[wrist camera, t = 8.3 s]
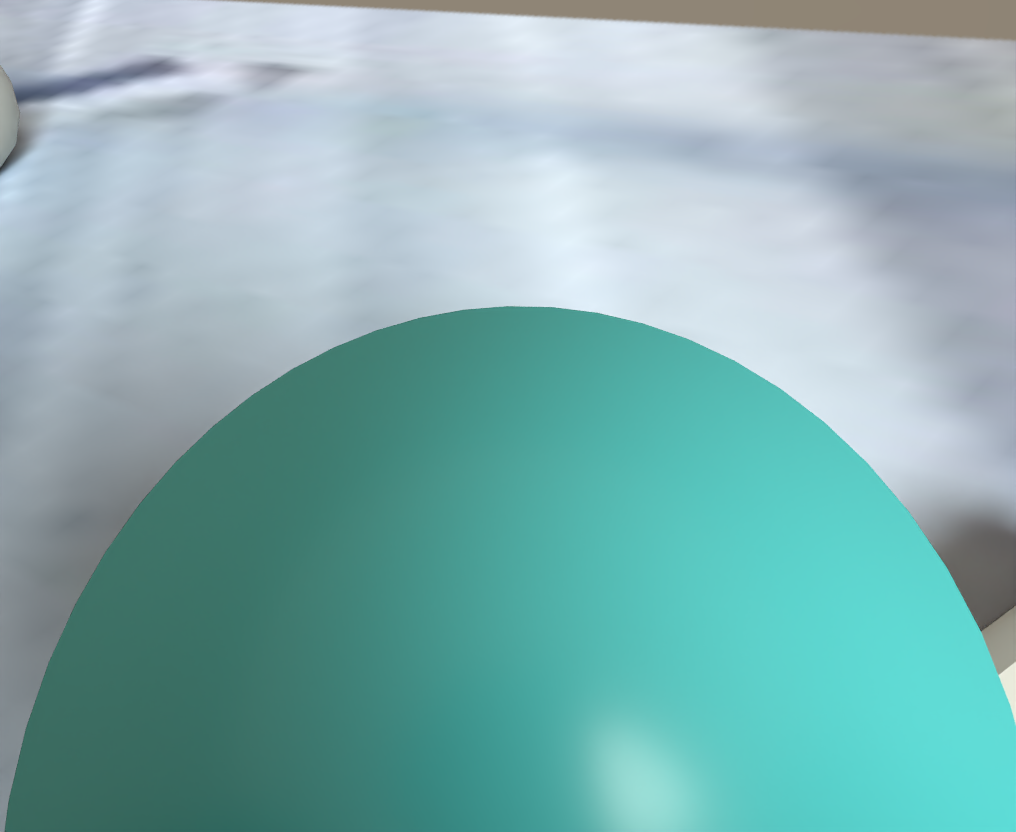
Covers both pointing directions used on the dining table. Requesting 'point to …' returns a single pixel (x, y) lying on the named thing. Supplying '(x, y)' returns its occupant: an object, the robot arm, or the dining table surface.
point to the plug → (519, 611)
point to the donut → (7, 117)
